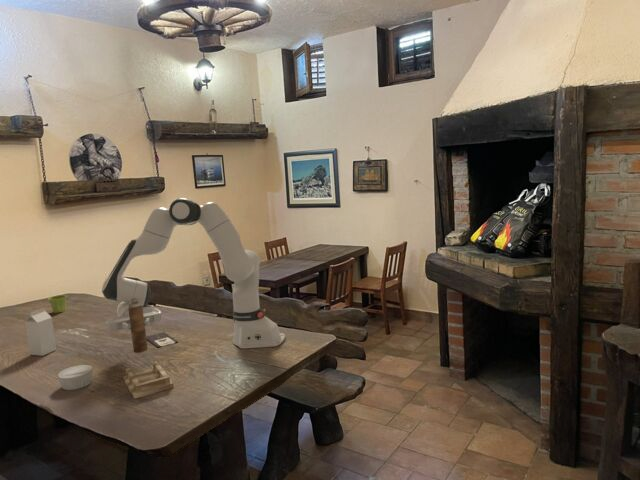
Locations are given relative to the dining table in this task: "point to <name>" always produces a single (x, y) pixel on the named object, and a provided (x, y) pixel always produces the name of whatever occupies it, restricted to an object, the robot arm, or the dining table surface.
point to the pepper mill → (137, 326)
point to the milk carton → (40, 333)
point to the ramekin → (75, 377)
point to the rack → (147, 381)
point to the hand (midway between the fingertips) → (137, 325)
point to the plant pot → (58, 303)
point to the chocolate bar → (161, 339)
